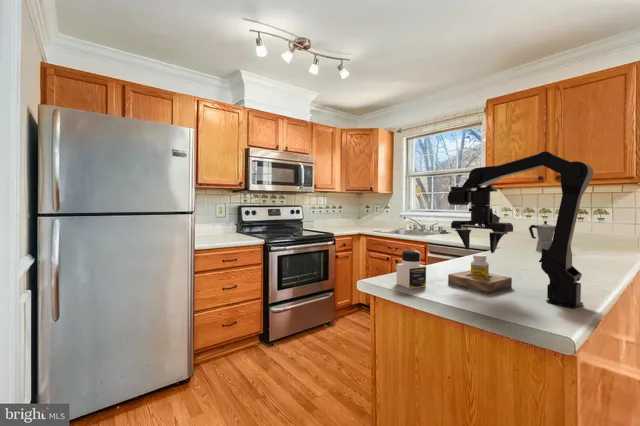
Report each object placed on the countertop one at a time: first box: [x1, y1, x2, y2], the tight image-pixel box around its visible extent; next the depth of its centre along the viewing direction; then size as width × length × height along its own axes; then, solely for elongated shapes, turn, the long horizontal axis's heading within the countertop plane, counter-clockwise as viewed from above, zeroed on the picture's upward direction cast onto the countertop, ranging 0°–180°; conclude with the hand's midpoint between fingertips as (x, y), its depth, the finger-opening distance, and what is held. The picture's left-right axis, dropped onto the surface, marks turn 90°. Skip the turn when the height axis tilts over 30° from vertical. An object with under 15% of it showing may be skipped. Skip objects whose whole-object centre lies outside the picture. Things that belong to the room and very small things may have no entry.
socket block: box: [447, 269, 513, 295], centre depth 103 cm, size 14×14×4 cm
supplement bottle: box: [470, 254, 490, 279], centre depth 103 cm, size 5×5×10 cm
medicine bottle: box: [396, 249, 427, 290], centre depth 104 cm, size 7×7×12 cm
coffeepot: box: [528, 220, 556, 253], centre depth 181 cm, size 15×9×18 cm, turn 79°
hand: (479, 251), depth 103 cm, fingers open, 8 cm apart
